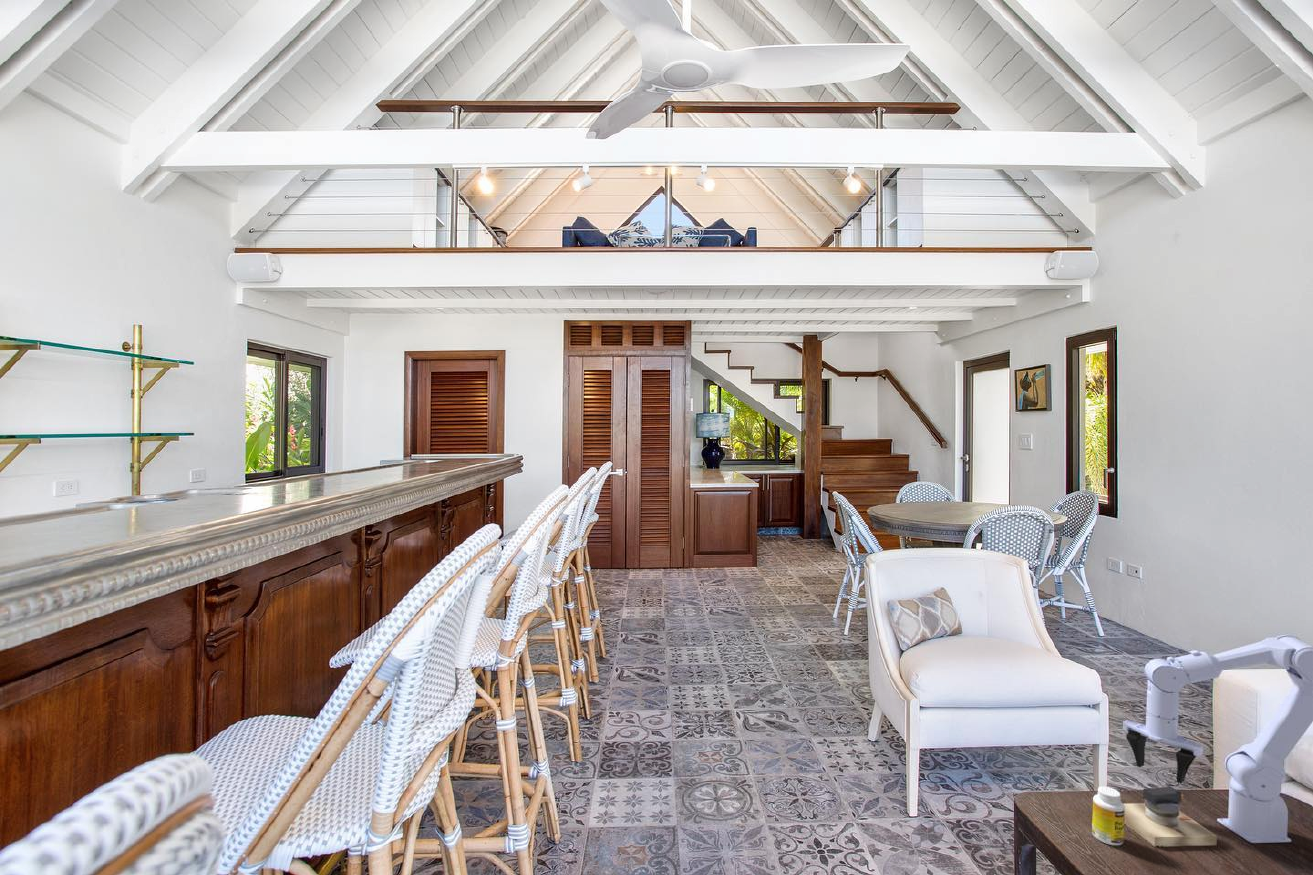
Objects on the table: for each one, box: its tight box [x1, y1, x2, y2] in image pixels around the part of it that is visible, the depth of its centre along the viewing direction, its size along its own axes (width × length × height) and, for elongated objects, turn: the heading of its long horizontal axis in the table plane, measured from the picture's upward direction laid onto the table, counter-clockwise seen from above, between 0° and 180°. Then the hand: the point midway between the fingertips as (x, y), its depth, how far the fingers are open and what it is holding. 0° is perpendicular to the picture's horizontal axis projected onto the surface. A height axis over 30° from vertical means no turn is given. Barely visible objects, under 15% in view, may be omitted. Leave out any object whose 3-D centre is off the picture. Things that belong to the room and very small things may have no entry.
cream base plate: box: [1123, 802, 1218, 848], centre depth 141 cm, size 14×12×4 cm
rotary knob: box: [1142, 786, 1185, 817], centre depth 141 cm, size 6×8×4 cm
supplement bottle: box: [1091, 786, 1125, 846], centre depth 137 cm, size 6×6×10 cm
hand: (1160, 773), depth 146 cm, fingers open, 7 cm apart
